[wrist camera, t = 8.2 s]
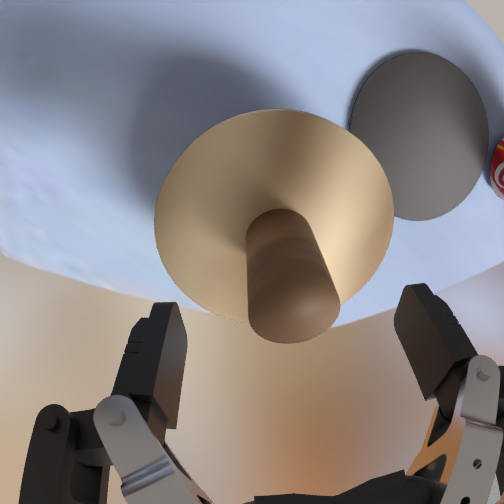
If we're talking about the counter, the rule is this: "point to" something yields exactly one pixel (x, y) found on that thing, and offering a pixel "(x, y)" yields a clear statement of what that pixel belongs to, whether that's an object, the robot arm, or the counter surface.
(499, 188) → the beverage can
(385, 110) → the mat
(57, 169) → the counter surface
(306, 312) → the lid
